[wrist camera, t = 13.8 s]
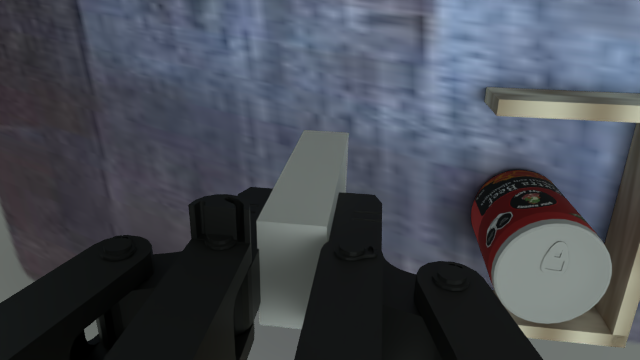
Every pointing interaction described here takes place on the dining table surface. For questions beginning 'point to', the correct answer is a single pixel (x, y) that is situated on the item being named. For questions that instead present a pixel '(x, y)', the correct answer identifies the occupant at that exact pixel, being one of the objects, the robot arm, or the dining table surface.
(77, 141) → the dining table surface
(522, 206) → the canned food
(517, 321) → the box
